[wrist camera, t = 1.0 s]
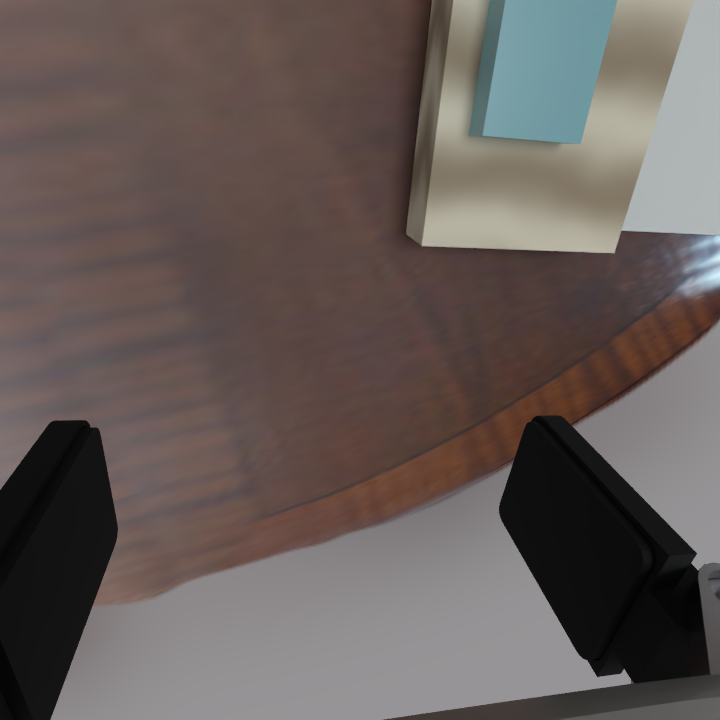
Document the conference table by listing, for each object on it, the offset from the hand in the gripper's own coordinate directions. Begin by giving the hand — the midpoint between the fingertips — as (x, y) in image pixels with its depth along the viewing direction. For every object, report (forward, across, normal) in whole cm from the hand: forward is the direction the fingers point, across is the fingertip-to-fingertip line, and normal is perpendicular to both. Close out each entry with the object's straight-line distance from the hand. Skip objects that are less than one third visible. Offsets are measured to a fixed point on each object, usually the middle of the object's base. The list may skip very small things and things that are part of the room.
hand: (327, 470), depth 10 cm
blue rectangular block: (+20, -13, -12) cm, 27 cm away
